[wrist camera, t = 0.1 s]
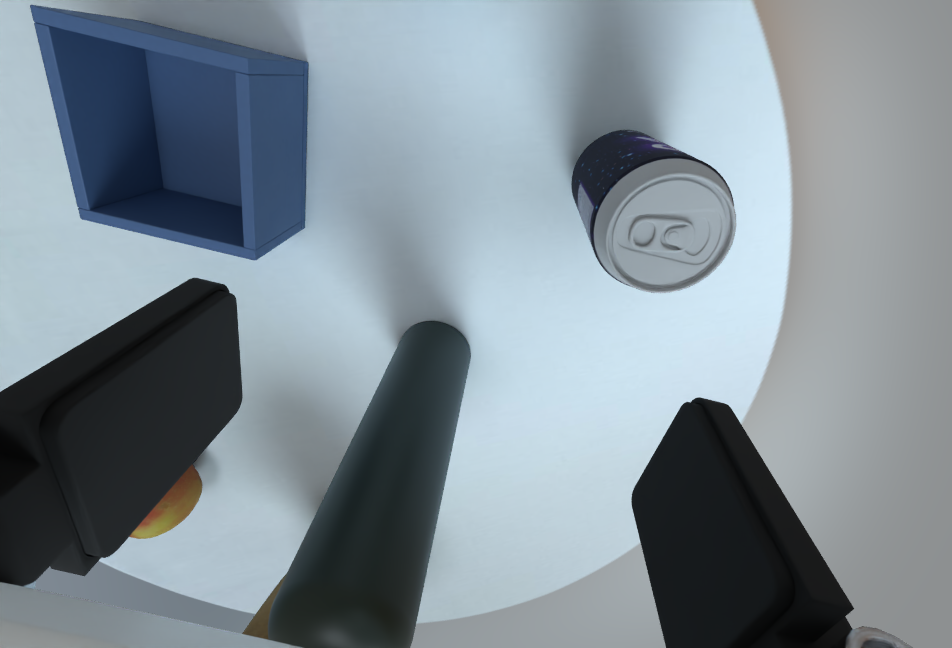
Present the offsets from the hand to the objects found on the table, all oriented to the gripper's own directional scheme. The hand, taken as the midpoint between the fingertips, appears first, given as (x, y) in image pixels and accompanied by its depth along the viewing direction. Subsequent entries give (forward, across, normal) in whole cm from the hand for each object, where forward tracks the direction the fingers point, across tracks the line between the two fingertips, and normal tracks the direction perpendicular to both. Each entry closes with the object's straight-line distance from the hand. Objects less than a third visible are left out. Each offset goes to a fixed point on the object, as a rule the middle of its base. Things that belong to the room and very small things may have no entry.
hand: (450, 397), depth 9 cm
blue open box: (+22, +18, +1) cm, 29 cm away
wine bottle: (+22, +2, +14) cm, 27 cm away
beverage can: (+22, -7, -2) cm, 24 cm away
